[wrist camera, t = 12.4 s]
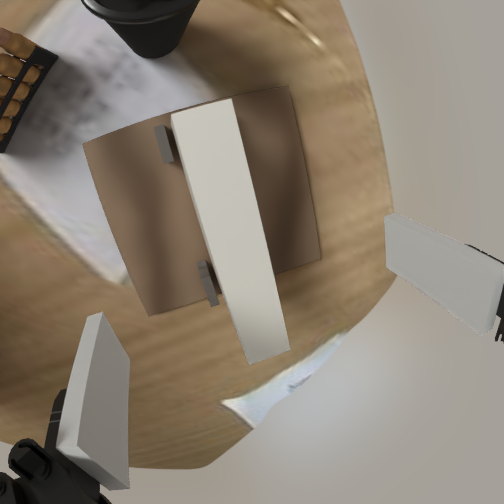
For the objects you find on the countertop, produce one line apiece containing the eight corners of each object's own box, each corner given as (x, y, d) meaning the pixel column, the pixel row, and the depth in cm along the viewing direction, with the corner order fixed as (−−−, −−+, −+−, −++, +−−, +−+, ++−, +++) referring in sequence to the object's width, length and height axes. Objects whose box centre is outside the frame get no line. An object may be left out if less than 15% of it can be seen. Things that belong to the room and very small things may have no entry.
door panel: (219, 284, 31) (249, 365, 20) (170, 124, 24) (171, 114, 13) (247, 275, 31) (290, 349, 20) (204, 114, 24) (231, 98, 14)
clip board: (149, 309, 31) (147, 336, 27) (86, 143, 24) (70, 145, 19) (315, 253, 34) (336, 272, 30) (282, 87, 27) (303, 80, 22)
